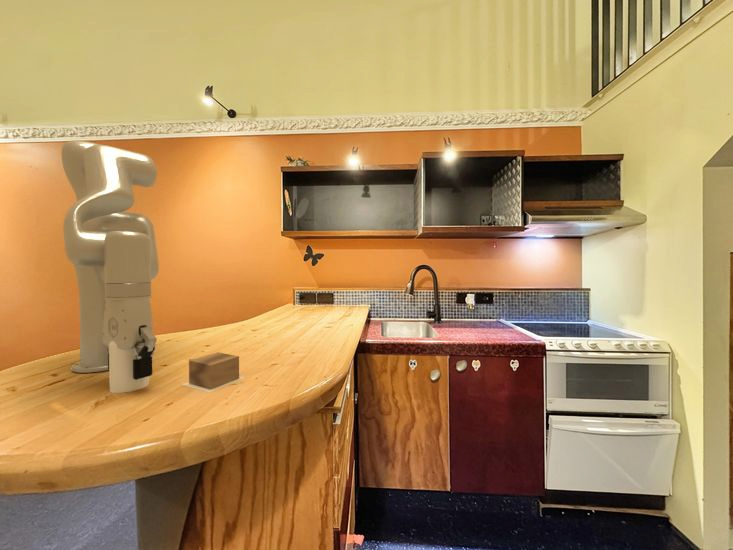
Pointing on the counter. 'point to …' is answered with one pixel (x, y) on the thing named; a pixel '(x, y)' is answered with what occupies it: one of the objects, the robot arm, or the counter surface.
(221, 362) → the block
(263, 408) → the counter surface
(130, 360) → the can
